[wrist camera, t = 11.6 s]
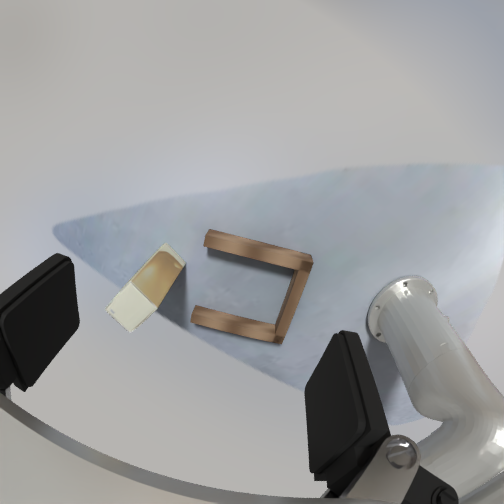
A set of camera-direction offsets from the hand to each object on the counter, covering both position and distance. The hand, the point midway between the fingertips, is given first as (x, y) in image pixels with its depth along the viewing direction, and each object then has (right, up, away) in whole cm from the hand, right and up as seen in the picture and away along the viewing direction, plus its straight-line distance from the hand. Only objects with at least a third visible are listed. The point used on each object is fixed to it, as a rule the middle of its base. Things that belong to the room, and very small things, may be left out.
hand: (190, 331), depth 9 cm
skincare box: (-11, +1, +31) cm, 33 cm away
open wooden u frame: (+1, -2, +32) cm, 32 cm away
